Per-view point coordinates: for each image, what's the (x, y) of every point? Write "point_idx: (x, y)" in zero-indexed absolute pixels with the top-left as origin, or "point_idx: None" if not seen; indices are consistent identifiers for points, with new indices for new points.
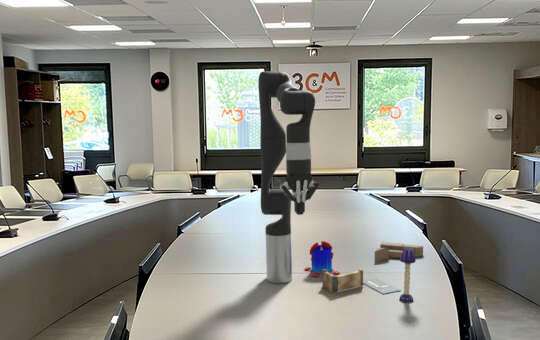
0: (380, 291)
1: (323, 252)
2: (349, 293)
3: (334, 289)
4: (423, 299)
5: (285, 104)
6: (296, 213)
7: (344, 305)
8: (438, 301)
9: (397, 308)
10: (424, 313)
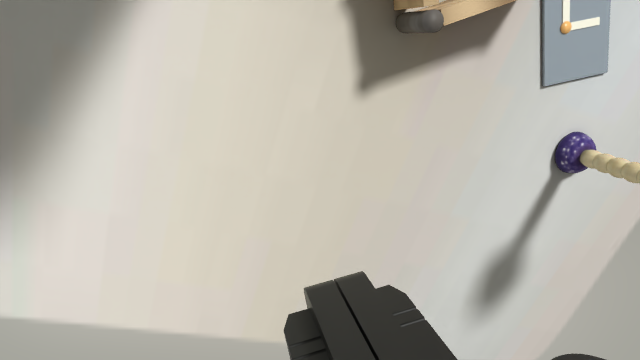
0: (546, 66)
1: None
2: (448, 42)
3: (404, 31)
4: None
5: None
6: (305, 293)
7: (386, 149)
8: None
9: (514, 205)
10: (553, 250)
